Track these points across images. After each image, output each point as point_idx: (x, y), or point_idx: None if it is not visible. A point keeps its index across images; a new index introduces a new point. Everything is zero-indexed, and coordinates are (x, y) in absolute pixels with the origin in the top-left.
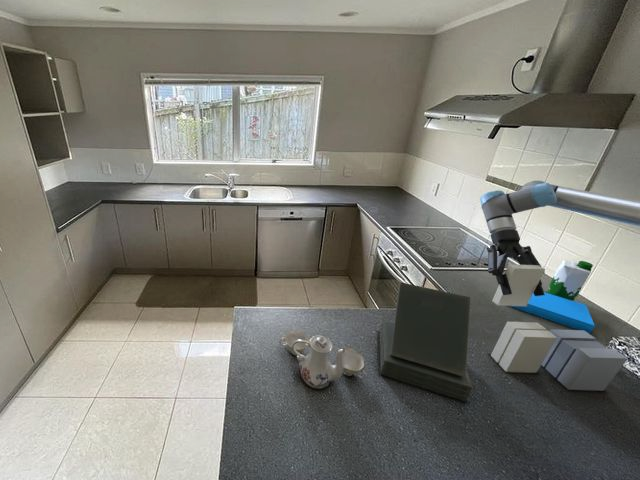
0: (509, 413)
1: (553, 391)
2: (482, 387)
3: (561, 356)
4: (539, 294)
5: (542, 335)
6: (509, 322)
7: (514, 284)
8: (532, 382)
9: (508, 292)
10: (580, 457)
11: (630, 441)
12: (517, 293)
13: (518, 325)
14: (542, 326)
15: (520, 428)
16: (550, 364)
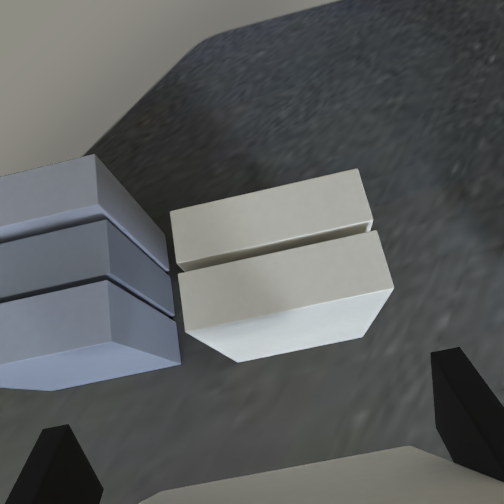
0: (415, 98)
1: None
2: (464, 166)
3: (139, 267)
4: (79, 454)
5: (243, 207)
6: (383, 282)
7: (379, 498)
8: None
9: (469, 370)
10: (296, 36)
11: (135, 109)
12: (277, 490)
13: (338, 264)
14: (182, 296)
15: (407, 64)
16: (164, 301)
